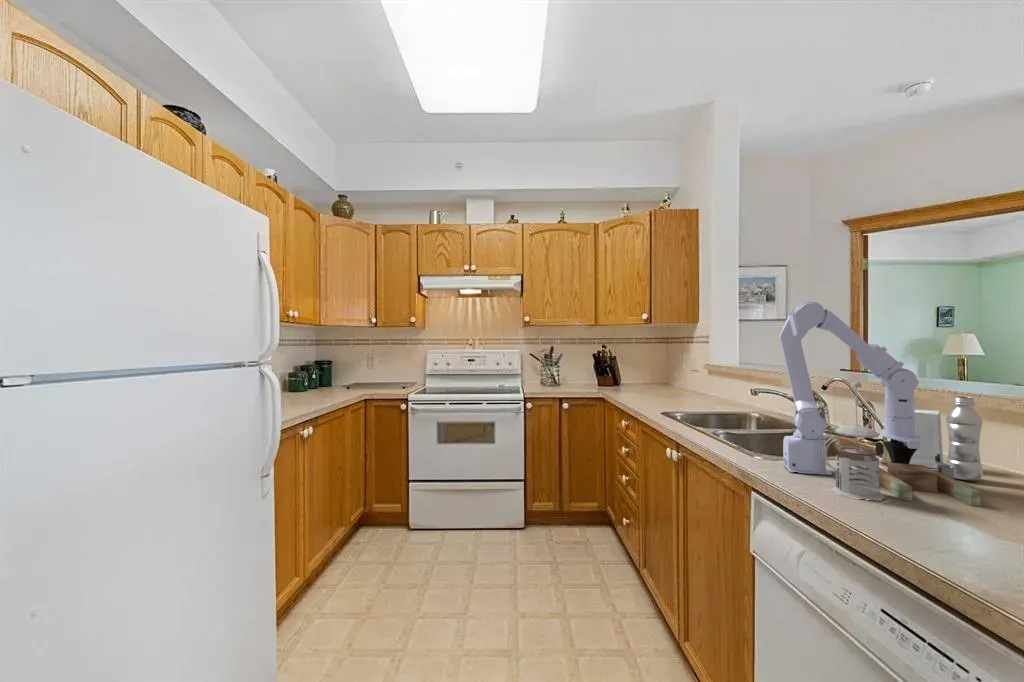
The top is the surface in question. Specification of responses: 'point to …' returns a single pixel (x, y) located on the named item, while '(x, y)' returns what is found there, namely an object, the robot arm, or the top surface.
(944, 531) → the top surface
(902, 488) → the bay
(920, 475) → the box
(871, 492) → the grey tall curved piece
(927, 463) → the skincare box
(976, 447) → the silver metal bottle
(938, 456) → the crank handle cylinder
